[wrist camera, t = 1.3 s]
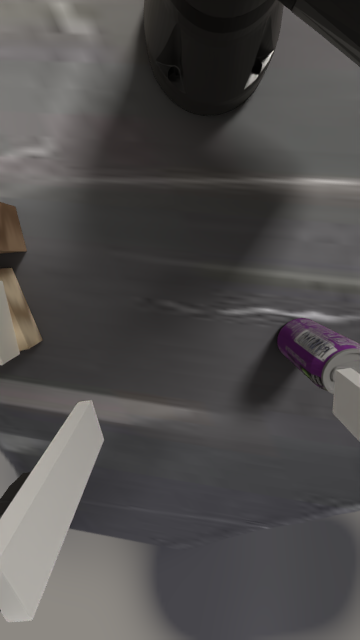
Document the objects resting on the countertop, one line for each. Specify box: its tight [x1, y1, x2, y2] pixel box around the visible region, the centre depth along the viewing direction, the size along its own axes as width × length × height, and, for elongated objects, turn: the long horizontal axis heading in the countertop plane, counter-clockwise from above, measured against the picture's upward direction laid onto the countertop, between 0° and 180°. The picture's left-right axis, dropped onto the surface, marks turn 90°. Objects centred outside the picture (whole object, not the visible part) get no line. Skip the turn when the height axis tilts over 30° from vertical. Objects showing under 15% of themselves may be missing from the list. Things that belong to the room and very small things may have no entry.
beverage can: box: [277, 318, 360, 395], centre depth 32 cm, size 7×7×12 cm
